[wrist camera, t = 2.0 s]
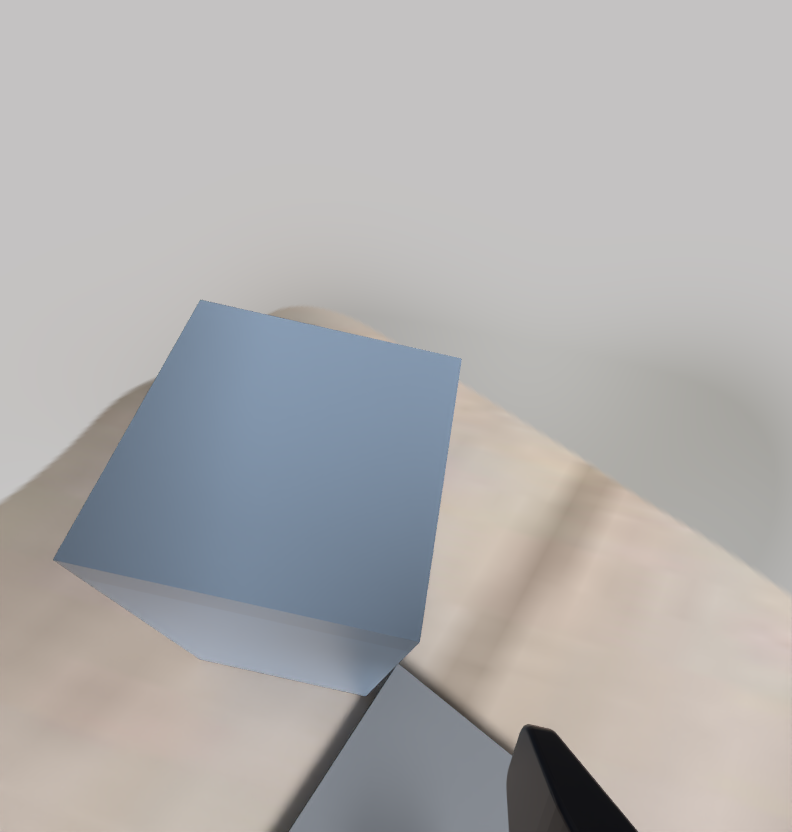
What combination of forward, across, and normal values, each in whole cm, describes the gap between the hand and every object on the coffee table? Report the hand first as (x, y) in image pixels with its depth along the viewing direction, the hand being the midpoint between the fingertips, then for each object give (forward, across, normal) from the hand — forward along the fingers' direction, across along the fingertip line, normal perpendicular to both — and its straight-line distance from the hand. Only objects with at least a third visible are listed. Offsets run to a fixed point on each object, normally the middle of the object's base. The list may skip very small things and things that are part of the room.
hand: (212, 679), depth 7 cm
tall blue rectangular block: (+10, 0, +5) cm, 11 cm away
